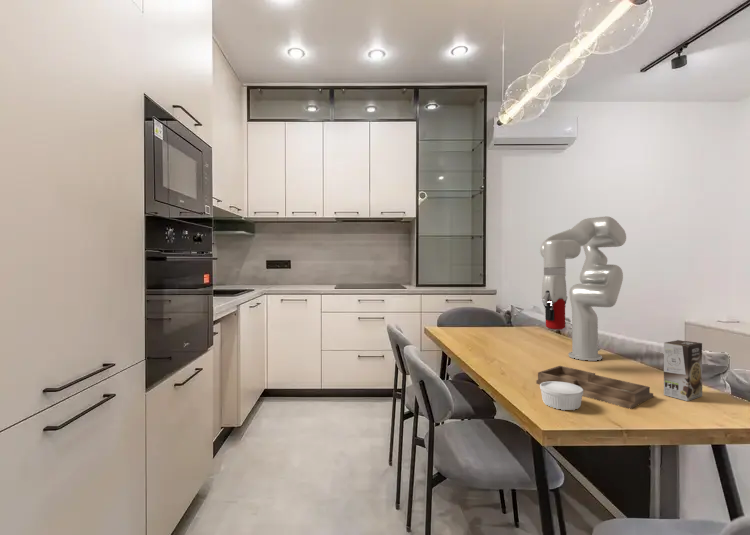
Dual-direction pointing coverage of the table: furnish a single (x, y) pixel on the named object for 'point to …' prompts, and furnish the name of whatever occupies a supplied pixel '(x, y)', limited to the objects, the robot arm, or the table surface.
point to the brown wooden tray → (599, 386)
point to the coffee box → (683, 369)
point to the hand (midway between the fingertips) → (555, 318)
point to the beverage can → (557, 315)
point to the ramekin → (561, 395)
